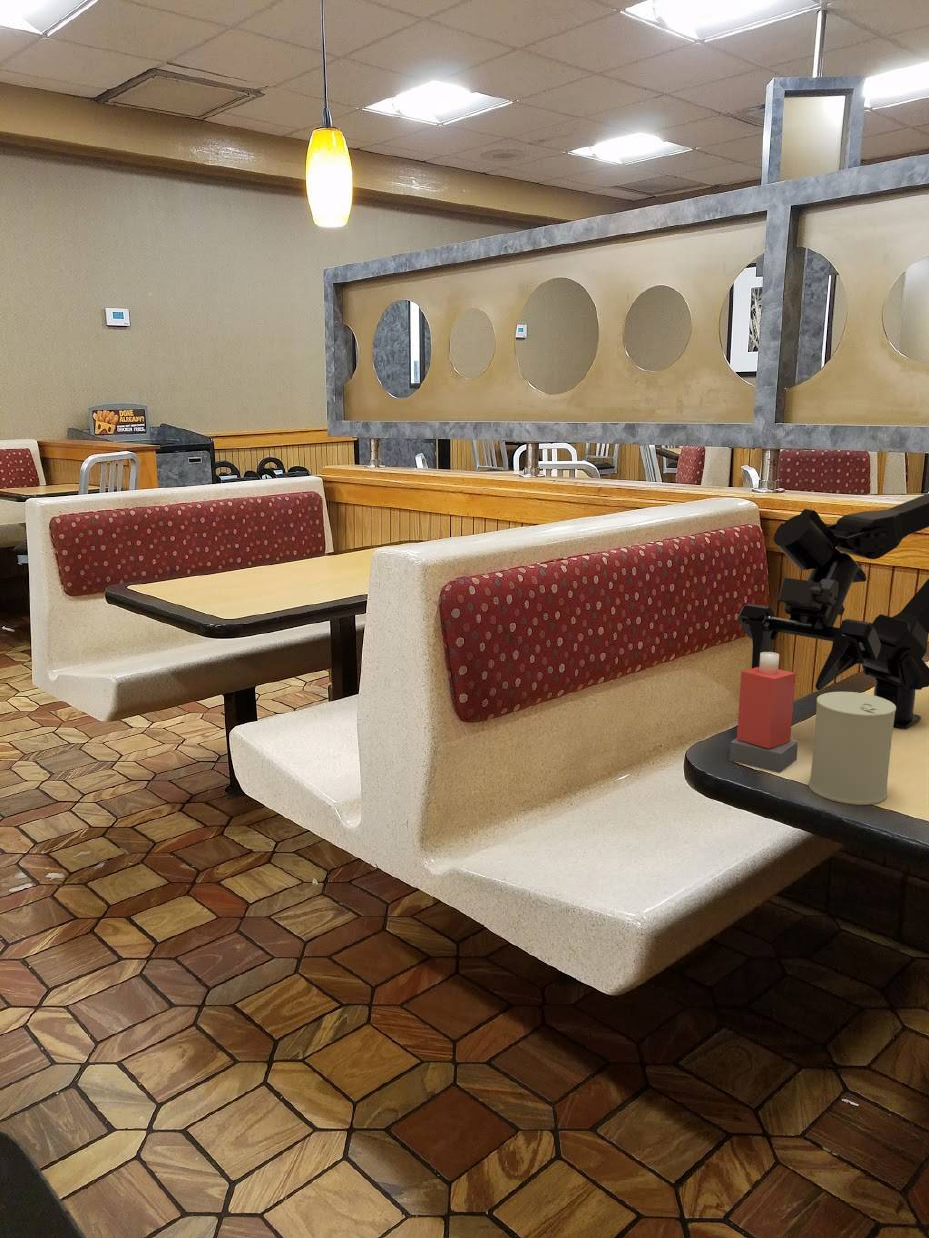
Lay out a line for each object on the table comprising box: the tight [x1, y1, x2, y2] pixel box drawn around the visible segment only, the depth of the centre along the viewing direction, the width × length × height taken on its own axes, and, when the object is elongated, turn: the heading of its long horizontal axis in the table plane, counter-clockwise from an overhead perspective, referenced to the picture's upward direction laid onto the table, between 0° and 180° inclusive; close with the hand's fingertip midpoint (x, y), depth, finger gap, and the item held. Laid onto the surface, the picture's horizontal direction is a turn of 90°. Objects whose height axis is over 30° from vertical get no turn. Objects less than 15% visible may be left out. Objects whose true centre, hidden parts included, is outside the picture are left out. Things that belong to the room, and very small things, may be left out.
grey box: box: [728, 737, 799, 774], centre depth 131 cm, size 6×7×3 cm
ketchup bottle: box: [736, 651, 797, 749], centre depth 130 cm, size 5×5×12 cm
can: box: [808, 691, 896, 806], centre depth 120 cm, size 9×9×12 cm
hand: (784, 681), depth 132 cm, fingers open, 9 cm apart
